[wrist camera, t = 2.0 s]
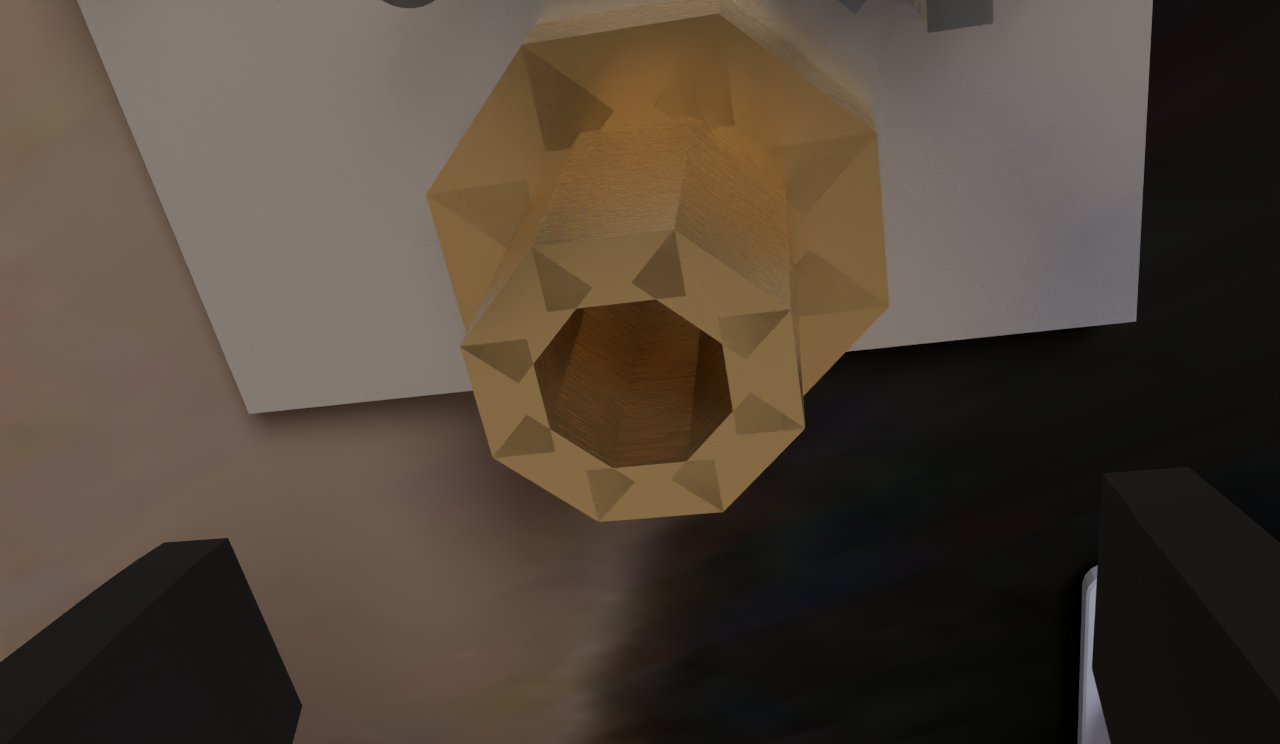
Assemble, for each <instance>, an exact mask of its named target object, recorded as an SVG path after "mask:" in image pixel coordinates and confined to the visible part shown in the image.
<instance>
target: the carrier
mask: <svg viewBox="0 0 1280 744" xmlns="http://www.w3.org/2000/svg"><path fill="white" fill-rule="evenodd" d="M669 1H675V0H77V2H78V4H79V6H80V9H81V11H82V14H83V16H84V18H85V21H86V23H87V26H88V28H89V30H90V33H91V35H92V38H93V40H94V42H95V45H96V47H97V50H98V52H99V54H100V57H101V59H102V62H103V64H104V66H105V69H106V71H107V74H108V76H109V79H110V81H111V83H112V86H113V88H114V91H115V93H116V95H117V98H118V100H119V103H120V105H121V107H122V110H123V112H124V115H125V117H126V119H127V122H128V124H129V127H130V129H131V131H132V134H133V136H134V139H135V141H136V143H137V146H138V148H139V151H140V153H141V155H142V158H143V160H144V163H145V165H146V167H147V170H148V172H149V175H150V177H151V179H152V182H153V184H154V187H155V189H156V191H157V194H158V196H159V199H160V201H161V204H162V206H163V208H164V211H165V213H166V216H167V218H168V220H169V223H170V225H171V228H172V230H173V232H174V235H175V237H176V240H177V242H178V244H179V247H180V249H181V252H182V254H183V256H184V259H185V261H186V264H187V266H188V268H189V271H190V273H191V276H192V278H193V280H194V283H195V285H196V288H197V290H198V292H199V295H200V297H201V300H202V302H203V304H204V307H205V309H206V312H207V314H208V316H209V319H210V321H211V324H212V326H213V329H214V331H215V333H216V336H217V338H218V341H219V343H220V345H221V348H222V350H223V353H224V355H225V357H226V360H227V362H228V365H229V367H230V369H231V372H232V374H233V377H234V379H235V381H236V384H237V386H238V389H239V391H240V393H241V396H242V398H243V401H244V403H245V405H246V408H247V410H248V413H249V414H254V413H263V412H273V411H282V410H292V409H301V408H311V407H321V406H330V405H340V404H349V403H359V402H368V401H378V400H388V399H397V398H407V397H416V396H426V395H435V394H445V393H455V392H464V391H473V389H472V386H471V382H470V379H469V375H468V372H467V369H466V365H465V362H464V358H463V355H462V352H461V348H460V345H461V343H462V341H463V339H464V337H465V335H466V332H465V328H464V325H463V321H462V318H461V314H460V311H459V307H458V304H457V300H456V297H455V294H454V290H453V287H452V283H451V280H450V276H449V273H448V269H447V266H446V262H445V259H444V255H443V252H442V249H441V245H440V242H439V238H438V235H437V231H436V228H435V224H434V221H433V217H432V214H431V210H430V207H429V203H428V200H427V197H426V193H427V191H428V190H429V189H430V187H431V186H432V184H433V183H434V181H435V180H436V178H437V176H438V175H439V173H440V172H441V170H442V169H443V167H444V165H445V164H446V162H447V161H448V159H449V158H450V156H451V155H452V153H453V151H454V150H455V148H456V147H457V145H458V144H459V142H460V140H461V139H462V137H463V136H464V134H465V133H466V131H467V130H468V128H469V126H470V125H471V123H472V122H473V120H474V119H475V117H476V115H477V114H478V112H479V111H480V109H481V108H482V106H483V105H484V103H485V101H486V100H487V98H488V97H489V95H490V94H491V92H492V90H493V89H494V87H495V86H496V84H497V83H498V81H499V80H500V78H501V76H502V75H503V73H504V72H505V70H506V69H507V67H508V65H509V64H510V62H511V61H512V59H513V58H514V56H515V54H516V53H517V51H518V50H519V48H520V47H521V44H522V43H523V41H524V40H525V39H526V37H527V36H528V34H529V33H530V32H531V30H532V29H533V27H534V26H535V25H536V23H539V22H545V21H551V20H557V19H563V18H570V17H576V16H582V15H588V14H594V13H601V12H607V11H613V10H619V9H625V8H631V7H638V6H644V5H650V4H656V3H662V2H669ZM732 1H733V2H734V3H736V4H737V5H738V6H740V7H741V8H742V9H743V10H745V11H746V12H747V13H749V14H750V15H751V16H753V17H754V18H755V19H757V20H758V21H759V22H761V23H762V24H763V25H765V26H766V27H767V28H768V29H770V30H771V31H772V32H774V33H775V34H776V35H778V36H779V37H780V38H782V39H783V40H784V41H786V42H787V43H788V44H789V45H791V46H792V47H793V48H795V49H796V50H797V51H799V52H800V53H801V54H803V55H804V56H805V57H807V58H808V59H809V60H810V61H812V62H813V63H814V64H816V65H817V66H818V67H820V68H821V69H822V70H824V71H825V72H826V73H828V74H829V75H830V76H831V77H833V78H834V79H835V80H837V81H838V82H839V83H841V84H842V85H843V86H845V87H846V88H847V89H849V90H850V91H851V92H853V93H854V94H855V95H856V96H858V97H859V98H860V99H862V100H863V101H864V102H866V103H867V104H868V105H870V108H871V112H872V116H873V119H874V123H875V127H876V131H877V140H878V154H879V168H880V182H881V196H882V209H883V223H884V237H885V251H886V265H887V279H888V293H889V306H890V307H888V308H887V309H886V310H885V311H884V312H883V313H882V314H881V316H880V317H879V318H878V319H877V320H876V321H875V322H874V323H873V324H872V325H871V326H870V327H869V328H868V329H867V330H866V331H865V332H864V333H863V334H862V335H861V336H860V337H859V338H858V340H857V341H856V342H855V343H854V344H853V345H852V346H851V347H850V348H849V349H848V350H847V351H857V350H866V349H876V348H885V347H895V346H905V345H914V344H924V343H933V342H943V341H953V340H962V339H972V338H981V337H991V336H1000V335H1010V334H1020V333H1029V332H1039V331H1048V330H1058V329H1067V328H1077V327H1087V326H1096V325H1106V324H1115V323H1125V322H1134V321H1136V313H1137V294H1138V275H1139V255H1140V236H1141V217H1142V198H1143V178H1144V159H1145V140H1146V121H1147V101H1148V82H1149V63H1150V44H1151V25H1152V5H1153V0H732ZM847 351H846V352H847Z"/></svg>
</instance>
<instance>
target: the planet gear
mask: <svg viewBox="0 0 1280 744" xmlns="http://www.w3.org/2000/svg"><path fill="white" fill-rule="evenodd" d="M426 197H427V200H428V203H429V207H430V210H431V214H432V217H433V221H434V224H435V228H436V231H437V235H438V238H439V242H440V245H441V249H442V252H443V255H444V259H445V262H446V266H447V269H448V273H449V276H450V280H451V283H452V287H453V290H454V294H455V297H456V300H457V304H458V307H459V311H460V314H461V318H462V321H463V325H464V328H465V332H466V335H465V337H464V339H463V341H462V343H461V345H460V348H461V352H462V355H463V358H464V362H465V365H466V369H467V372H468V375H469V379H470V382H471V386H472V389H473V392H474V396H475V399H476V403H477V406H478V409H479V413H480V416H481V420H482V423H483V427H484V430H485V433H486V437H487V440H488V444H489V447H490V450H491V454H492V457H493V458H494V459H496V460H497V461H499V462H501V463H502V464H504V465H506V466H507V467H509V468H510V469H512V470H514V471H515V472H517V473H519V474H520V475H522V476H524V477H525V478H527V479H529V480H530V481H532V482H534V483H535V484H537V485H539V486H540V487H542V488H543V489H545V490H547V491H548V492H550V493H552V494H553V495H555V496H557V497H558V498H560V499H562V500H563V501H565V502H567V503H568V504H570V505H571V506H573V507H575V508H576V509H578V510H580V511H581V512H583V513H585V514H586V515H588V516H590V517H591V518H593V519H595V520H596V521H598V522H606V521H618V520H631V519H643V518H655V517H667V516H680V515H692V514H704V513H716V512H724V511H725V510H726V509H727V507H728V506H729V505H730V504H731V503H732V502H733V501H734V500H735V499H736V498H737V497H738V496H739V495H740V494H741V493H742V492H743V491H744V490H745V489H746V488H747V487H748V486H749V485H750V484H751V483H752V482H753V481H754V480H755V479H756V478H757V477H758V476H759V475H760V474H761V473H762V472H763V471H764V470H765V469H766V468H767V467H768V466H769V465H770V464H771V463H772V462H773V461H774V460H775V459H776V458H777V457H778V455H779V454H780V453H781V452H782V451H783V450H784V449H785V448H786V447H787V446H788V445H789V444H790V443H791V442H792V441H793V440H794V439H795V438H796V437H797V436H798V435H799V434H800V433H801V432H802V431H803V430H804V429H805V419H804V402H803V396H804V395H805V394H806V393H807V392H808V391H809V390H810V388H811V387H812V386H813V385H814V384H815V383H816V382H817V381H818V380H819V379H820V378H821V377H822V376H823V375H824V374H825V373H826V372H827V371H828V370H829V369H830V368H831V367H832V366H833V365H834V363H835V362H836V361H837V360H838V359H839V358H840V357H841V356H842V355H843V354H844V353H845V352H846V351H847V350H848V349H849V348H850V347H851V346H852V345H853V344H854V343H855V342H856V341H857V340H858V338H859V337H860V336H861V335H862V334H863V333H864V332H865V331H866V330H867V329H868V328H869V327H870V326H871V325H872V324H873V323H874V322H875V321H876V320H877V319H878V318H879V317H880V316H881V314H882V313H883V312H884V311H885V310H886V309H887V308H888V307H890V306H889V293H888V279H887V265H886V251H885V237H884V223H883V209H882V196H881V182H880V168H879V154H878V140H877V131H876V127H875V123H874V119H873V116H872V112H871V108H870V105H868V104H867V103H866V102H864V101H863V100H862V99H860V98H859V97H858V96H856V95H855V94H854V93H853V92H851V91H850V90H849V89H847V88H846V87H845V86H843V85H842V84H841V83H839V82H838V81H837V80H835V79H834V78H833V77H831V76H830V75H829V74H828V73H826V72H825V71H824V70H822V69H821V68H820V67H818V66H817V65H816V64H814V63H813V62H812V61H810V60H809V59H808V58H807V57H805V56H804V55H803V54H801V53H800V52H799V51H797V50H796V49H795V48H793V47H792V46H791V45H789V44H788V43H787V42H786V41H784V40H783V39H782V38H780V37H779V36H778V35H776V34H775V33H774V32H772V31H771V30H770V29H768V28H767V27H766V26H765V25H763V24H762V23H761V22H759V21H758V20H757V19H755V18H754V17H753V16H751V15H750V14H749V13H747V12H746V11H745V10H743V9H742V8H741V7H740V6H738V5H737V4H736V3H734V2H733V1H732V0H675V1H669V2H662V3H656V4H650V5H644V6H638V7H631V8H625V9H619V10H613V11H607V12H601V13H594V14H588V15H582V16H576V17H570V18H563V19H557V20H551V21H545V22H539V23H536V25H535V26H534V27H533V29H532V30H531V32H530V33H529V34H528V36H527V37H526V39H525V40H524V41H523V43H522V44H521V47H520V48H519V50H518V51H517V53H516V54H515V56H514V58H513V59H512V61H511V62H510V64H509V65H508V67H507V69H506V70H505V72H504V73H503V75H502V76H501V78H500V80H499V81H498V83H497V84H496V86H495V87H494V89H493V90H492V92H491V94H490V95H489V97H488V98H487V100H486V101H485V103H484V105H483V106H482V108H481V109H480V111H479V112H478V114H477V115H476V117H475V119H474V120H473V122H472V123H471V125H470V126H469V128H468V130H467V131H466V133H465V134H464V136H463V137H462V139H461V140H460V142H459V144H458V145H457V147H456V148H455V150H454V151H453V153H452V155H451V156H450V158H449V159H448V161H447V162H446V164H445V165H444V167H443V169H442V170H441V172H440V173H439V175H438V176H437V178H436V180H435V181H434V183H433V184H432V186H431V187H430V189H429V190H428V191H427V193H426Z"/></svg>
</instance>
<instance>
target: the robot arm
mask: <svg viewBox="0 0 1280 744" xmlns="http://www.w3.org/2000/svg"><path fill="white" fill-rule="evenodd" d="M301 708H302V704H301V702H300V700H299V697H298V695H297V693H296V691H295V688H294V686H293V684H292V682H291V679H290V677H289V675H288V673H287V670H286V668H285V666H284V664H283V661H282V659H281V657H280V655H279V652H278V650H277V648H276V646H275V643H274V641H273V639H272V636H271V634H270V632H269V630H268V627H267V625H266V623H265V621H264V618H263V616H262V614H261V612H260V609H259V607H258V605H257V603H256V600H255V598H254V596H253V594H252V591H251V589H250V587H249V585H248V582H247V580H246V578H245V576H244V573H243V571H242V569H241V567H240V564H239V562H238V560H237V557H236V555H235V553H234V551H233V548H232V546H231V544H230V542H229V539H228V538H222V539H208V540H194V541H181V542H167V543H163V544H161V545H160V546H158V547H157V548H155V549H153V550H152V551H150V552H149V553H147V554H146V555H144V556H143V557H141V558H139V559H138V560H137V561H135V562H134V563H132V564H131V565H129V566H128V567H126V568H125V569H124V570H122V571H121V572H119V573H118V574H117V575H115V576H114V577H113V578H111V579H110V580H108V581H107V582H106V583H104V584H103V585H102V586H100V587H99V588H97V589H96V590H95V591H93V592H92V593H91V594H89V595H88V596H87V597H85V598H84V599H83V600H81V601H80V602H79V603H77V604H76V605H75V606H73V607H72V608H71V609H70V610H68V611H67V612H66V613H64V614H63V615H62V616H60V617H59V618H58V619H56V620H55V621H54V622H52V623H51V624H50V625H49V626H47V627H46V628H45V629H43V630H42V631H41V632H39V633H38V634H37V635H35V636H34V637H33V638H32V639H30V640H29V641H28V642H26V643H25V644H24V645H22V646H21V647H20V648H19V649H17V650H16V651H15V652H13V653H12V654H11V655H9V656H8V657H7V658H5V659H4V660H3V661H1V662H0V744H292V743H293V739H294V735H295V732H296V728H297V724H298V720H299V716H300V712H301ZM1078 744H1280V543H1279V542H1278V541H1277V540H1275V539H1274V538H1273V537H1272V536H1271V535H1269V534H1268V533H1267V532H1266V531H1265V530H1263V529H1262V528H1261V527H1260V526H1259V525H1257V524H1256V523H1255V522H1254V521H1253V520H1251V519H1250V518H1249V517H1248V516H1247V515H1245V514H1244V513H1243V512H1242V511H1241V510H1239V509H1238V508H1237V507H1236V506H1235V505H1233V504H1232V503H1231V502H1230V501H1229V500H1227V499H1226V498H1225V497H1224V496H1223V495H1221V494H1220V493H1219V492H1218V491H1217V490H1215V489H1214V488H1213V487H1212V486H1211V485H1209V484H1208V483H1207V482H1206V481H1205V480H1203V479H1202V478H1201V477H1200V476H1198V475H1197V474H1196V473H1195V472H1194V471H1192V470H1191V469H1190V468H1189V467H1183V468H1170V469H1156V470H1143V471H1129V472H1115V473H1103V478H1102V496H1101V513H1100V531H1099V549H1098V565H1097V566H1095V567H1093V568H1091V569H1090V570H1089V571H1088V573H1087V574H1086V575H1085V576H1084V579H1083V583H1082V609H1081V644H1080V679H1079V714H1078Z"/></svg>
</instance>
